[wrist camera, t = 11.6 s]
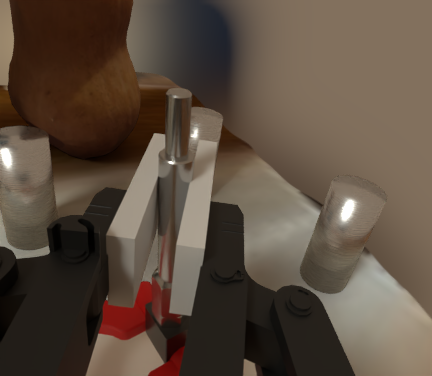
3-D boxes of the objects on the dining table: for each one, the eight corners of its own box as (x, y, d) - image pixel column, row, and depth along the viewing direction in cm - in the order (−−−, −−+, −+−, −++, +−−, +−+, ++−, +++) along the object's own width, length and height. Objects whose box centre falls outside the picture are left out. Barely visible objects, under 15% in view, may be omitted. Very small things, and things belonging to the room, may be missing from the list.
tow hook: (-11, 598, 11) (234, 415, 16) (-333, 337, 4) (301, 148, 9) (-46, 367, 16) (145, 283, 21) (-204, 78, 9) (140, 51, 14)
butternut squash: (158, 142, 49) (173, -94, 35) (98, 191, 38) (87, -124, 24) (68, 115, 51) (49, -113, 38) (-12, 154, 40) (-78, -147, 27)
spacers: (-2, 230, 31) (-24, 133, 26) (176, 164, 44) (183, 92, 40) (187, 463, 19) (210, 363, 14) (353, 277, 32) (395, 193, 28)
